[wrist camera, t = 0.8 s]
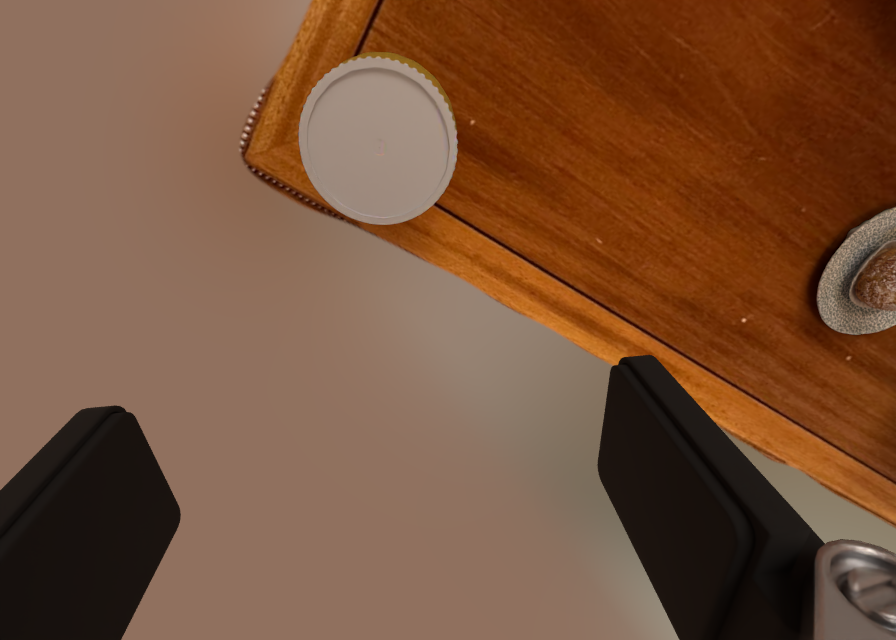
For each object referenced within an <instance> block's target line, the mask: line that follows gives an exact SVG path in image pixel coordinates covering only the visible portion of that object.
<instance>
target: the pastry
mask: <svg viewBox="0 0 896 640" xmlns="http://www.w3.org/2000/svg"><path fill="white" fill-rule="evenodd" d="M817 306H818V310H819V313H820V316H821V318H822V320H823V321H824V322H825V323H826V325H828V326H829V327H830V328H832V329H833V330H835V331H838V332H841V333H846V334H852V335H859V334H866V333H867V334H868V333H874V332H878V331H881V330H884V329H887V328H890V327H892V326H894V325H896V207H895V208H892V209H886V210H884V211H883V212H881V213H879V214H878V215H875V216H874V217H873V218H872V219H870V220H867V221H865V222H863V223H862V224H861V225H860V226H857V227H856V228H854V229H852V230H850V231H849V232H848V234H847V239H846V240H845V241H844V243H842V244H841V246H840V247H839V248H838V250H837V251H836V252H835V254H834V255H833V256H832V258H831V259H830V261H829V262H828V264H827V266H826V268H825V270H824V271H823V274H822V276H821V279H820V282H819V285H818V291H817Z"/></svg>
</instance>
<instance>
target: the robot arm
mask: <svg viewBox="0 0 896 640" xmlns="http://www.w3.org/2000/svg"><path fill="white" fill-rule="evenodd" d="M598 472H599V476H600V479H601V482H602V484H603V486H604V488H605V490H606V492H607V494H608V496H609V498H610V500H611V502H612V504H613V506H614V508H615V510H616V512H617V514H618V516H619V518H620V520H621V522H622V524H623V526H624V528H625V530H626V532H627V534H628V536H629V539H630V541H631V543H632V545H633V547H634V549H635V551H636V553H637V555H638V557H639V559H640V561H641V563H642V565H643V567H644V569H645V571H646V573H647V575H648V577H649V579H650V581H651V583H652V585H653V587H654V589H655V591H656V593H657V595H658V597H659V599H660V601H661V603H662V605H663V607H664V609H665V611H666V613H667V615H668V618H669V620H670V621H671V624H672V625H673V628H674V629H675V632H676V634H677V636H678V638H679V639H680V640H896V554H894V553H893V552H891V551H888V550H886V549H884V548H882V547H879V546H876V545H872V544H869V543H865V542H862V541H855V540H843V539H840V540H836V541H831V542H827V543H826V544H825V543H824V542H823V541H822V540H821V539H820V538H819V537H818V536H817V534H816V533H815V532H814V531H813V530H812V529H811V528H810V527H809V525H808V524H807V523H806V522H805V521H804V520H803V519H802V518H801V517H800V515H799V514H798V513H797V512H796V511H795V510H794V509H793V508H792V507H791V506H790V504H789V503H788V502H787V501H786V500H785V499H784V498H783V497H782V496H781V495H780V494H779V492H778V491H777V490H776V489H775V488H774V487H773V486H772V485H771V484H770V483H769V482H768V480H767V479H766V478H765V477H764V476H763V475H762V474H761V473H760V472H759V471H758V469H756V467H755V466H754V465H753V464H752V463H751V462H750V461H749V460H748V458H747V457H746V456H745V455H744V454H743V453H742V452H741V451H740V450H739V449H738V447H736V445H735V444H734V443H733V442H732V441H731V440H730V439H729V438H728V437H727V435H726V434H725V433H724V432H723V431H722V430H721V429H720V428H719V427H718V426H717V424H716V423H715V422H714V421H713V420H712V419H711V418H710V417H709V416H708V415H707V414H706V412H705V411H704V410H703V409H702V408H701V407H700V406H699V405H698V404H697V403H696V401H695V400H694V399H693V398H692V397H691V396H690V395H689V394H688V393H687V392H686V391H685V389H684V388H683V387H682V386H681V385H680V384H679V383H678V382H677V381H676V380H675V378H674V377H673V376H672V375H671V374H670V373H669V372H668V371H667V370H666V369H665V368H664V366H663V365H662V364H661V363H660V362H659V361H658V360H657V359H656V358H655V357H654V356H652V355H643V356H633V357H623V358H621V360H620V361H619V364H618V365H614V366H612V368H611V371H610V378H609V385H608V392H607V399H606V407H605V414H604V422H603V428H602V435H601V442H600V450H599V457H598ZM180 515H181V514H180V508H179V505H178V504H177V501H176V499H175V497H174V495H173V493H172V491H171V489H170V487H169V485H168V483H167V481H166V479H165V477H164V475H163V473H162V471H161V469H160V466H159V465H158V462H157V460H156V458H155V456H154V454H153V452H152V450H151V448H150V446H149V444H148V442H147V440H146V438H145V436H144V434H143V432H142V430H141V428H140V426H139V423H138V422H137V419H136V418H135V416H134V415H133V414H132V413H129V412H126V410H125V409H124V408H122V407H120V406H106V407H95V408H86V409H83V410H81V411H79V412H78V413H76V414H75V416H73V418H72V419H71V420H70V421H69V422H68V423H67V424H66V425H65V426H64V427H63V428H62V429H61V430H60V431H59V432H58V433H57V434H56V435H55V436H54V437H53V438H52V439H51V440H50V441H49V442H48V443H47V444H46V445H45V446H44V447H43V448H42V449H41V450H40V451H39V452H38V453H37V454H36V455H35V456H34V457H33V458H32V459H31V460H30V461H29V462H28V463H27V464H26V465H25V466H24V467H23V468H22V469H21V470H20V471H19V472H18V473H17V474H16V475H15V476H14V477H13V478H12V479H11V480H10V481H9V482H8V483H7V484H6V485H5V486H4V487H3V488H2V489H1V490H0V640H121V639H122V636H123V635H124V633H125V631H126V629H127V627H128V625H129V623H130V621H131V619H132V617H133V615H134V613H135V611H136V609H137V607H138V605H139V603H140V601H141V599H142V597H143V595H144V593H145V591H146V589H147V587H148V585H149V583H150V581H151V579H152V577H153V576H154V574H155V571H156V570H157V568H158V566H159V564H160V562H161V560H162V558H163V556H164V554H165V552H166V550H167V548H168V546H169V544H170V542H171V540H172V538H173V536H174V534H175V532H176V530H177V528H178V525H179V523H180Z"/></svg>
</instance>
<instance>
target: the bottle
mask: <svg viewBox="0 0 896 640" xmlns="http://www.w3.org/2000/svg"><path fill="white" fill-rule="evenodd" d="M303 108H304V109H303V112H302V113H301V120H300V123H299V132H298V136H299V146H300V155H301V157H302V163H303V164H304V167H305V171H306V173H307V175H308V177H309V179H310V181H311V182H312V184H313V185H314V187H315V189H316V190H317V191H318V192H319V194H320V195H321V196H322V197H323V198H324V199H325V200H326V201H327V202H328V203H329V204H330V205H331V206H332V207H334V208H335V209H336V210H338V211H339V212H341V213H343V214H344V215H346V216H348V217H350V218H352V219H355V220H358V221H361V222H365V223H369V224H377V225H389V224H397V223H401V222H405V221H407V220H410V219H413V218H414V217H416V216H418V215H421V214H422V213H423V212H425V211H427V210H428V208H430V207H431V206H433V205H434V203H435V202H436V201H437V200H438V199H439V198H440V196H441V195H442V194H443V193H444V191H445V189H446V187H447V186H448V185H449V181H450V179H451V178H452V173H453V171H454V170H455V162H456V161H457V158H456V153H457V152H458V149H457V144H458V140H457V139H456V135H457V131H456V129H457V128H456V121H455V117H454V113H453V110H452V106H451V103H450V101H449V98H448V96H447V95H446V93H445V92H444V90H443V88H442V87H441V85H440V84H439V82H438V81H437V80H436V78H435V77H434V76H433V75H431V74H430V73H429V72H428V71H427V70H426V69H424V68H423V67H422V66H421V65H420V64H418V63H416V62H415V61H413V60H411V59H408V58H405V57H403V56H400V55H398V54H394V53H389V52H369V53H364V54H361V55H358V56H355V57H353V58H350V59H347V60H346V61H344V62H342V63H341V64H340V65H339V66H337V67H336V68H333V69H331V72H330V73H328V74H327V73H326V74H325V75H324V78H323V79H322V80H319V81H318V82H317V85H316V86H315V87H313V88H312V92H311V94H310V95H309V96H308V97H307V101H306V104H304V106H303Z"/></svg>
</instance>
